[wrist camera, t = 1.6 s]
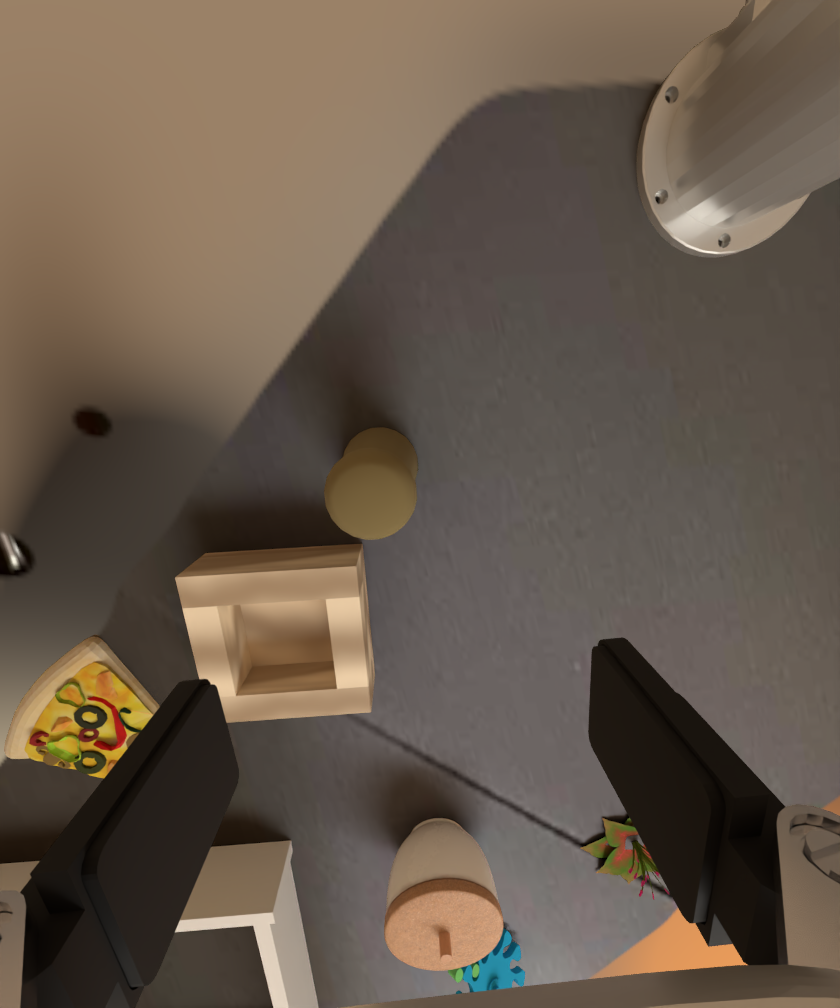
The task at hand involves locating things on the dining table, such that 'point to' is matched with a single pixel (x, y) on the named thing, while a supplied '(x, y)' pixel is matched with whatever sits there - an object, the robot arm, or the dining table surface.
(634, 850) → the lily flower
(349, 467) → the cork
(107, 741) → the pizza slice
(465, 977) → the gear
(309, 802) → the dining table surface
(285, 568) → the caddy
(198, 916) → the white rectangular frame
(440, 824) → the lidded jar
